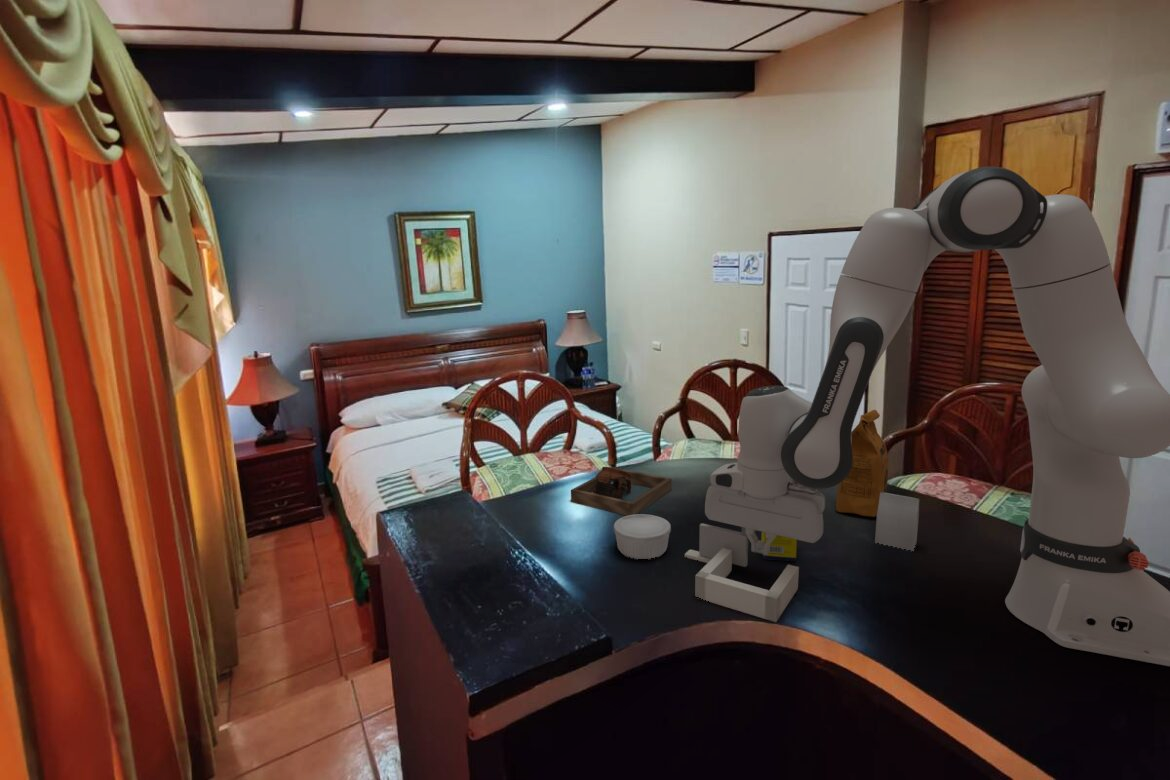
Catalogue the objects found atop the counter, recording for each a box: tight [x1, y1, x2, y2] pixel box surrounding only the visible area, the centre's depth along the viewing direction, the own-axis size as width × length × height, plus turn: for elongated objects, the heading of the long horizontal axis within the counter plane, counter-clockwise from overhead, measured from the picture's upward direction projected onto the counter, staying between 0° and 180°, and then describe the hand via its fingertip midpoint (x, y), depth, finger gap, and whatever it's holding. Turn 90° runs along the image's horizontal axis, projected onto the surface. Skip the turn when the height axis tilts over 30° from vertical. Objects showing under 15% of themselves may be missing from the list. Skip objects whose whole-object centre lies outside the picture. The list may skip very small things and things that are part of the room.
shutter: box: [698, 523, 749, 568], centre depth 111 cm, size 9×1×8 cm, turn 55°
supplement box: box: [760, 531, 798, 562], centre depth 115 cm, size 6×6×11 cm
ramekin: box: [613, 513, 672, 560], centre depth 119 cm, size 11×11×5 cm
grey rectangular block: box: [874, 492, 920, 552], centre depth 117 cm, size 4×7×10 cm, turn 54°
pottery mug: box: [593, 466, 632, 499], centre depth 146 cm, size 12×10×8 cm
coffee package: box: [835, 409, 890, 518], centre depth 133 cm, size 10×12×22 cm
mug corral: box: [570, 467, 673, 516], centre depth 146 cm, size 17×19×3 cm
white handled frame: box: [684, 548, 800, 623], centre depth 105 cm, size 21×14×4 cm
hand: (760, 552), depth 107 cm, fingers closed
